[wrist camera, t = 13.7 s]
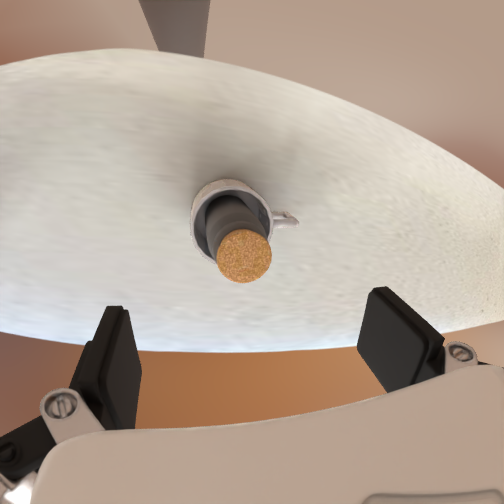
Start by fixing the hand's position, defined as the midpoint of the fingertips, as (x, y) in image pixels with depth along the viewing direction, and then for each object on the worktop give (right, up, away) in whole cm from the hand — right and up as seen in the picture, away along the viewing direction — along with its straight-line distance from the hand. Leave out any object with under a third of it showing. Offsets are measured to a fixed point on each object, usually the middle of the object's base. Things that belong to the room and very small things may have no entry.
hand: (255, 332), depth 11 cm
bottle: (-3, +8, +29) cm, 30 cm away
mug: (-2, +8, +29) cm, 30 cm away
